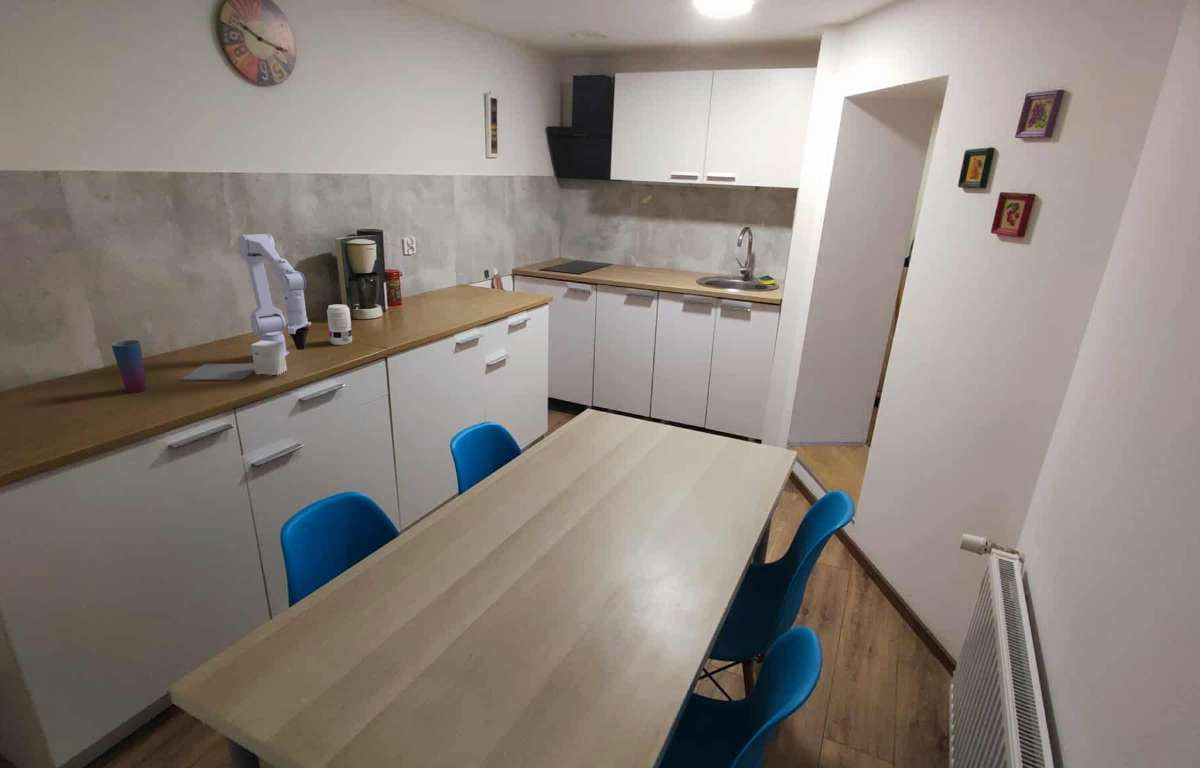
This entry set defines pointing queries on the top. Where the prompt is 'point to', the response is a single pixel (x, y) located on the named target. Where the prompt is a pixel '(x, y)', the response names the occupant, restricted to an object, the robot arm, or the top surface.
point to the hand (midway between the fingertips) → (301, 349)
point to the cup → (130, 364)
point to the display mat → (220, 372)
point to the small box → (269, 357)
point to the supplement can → (339, 324)
